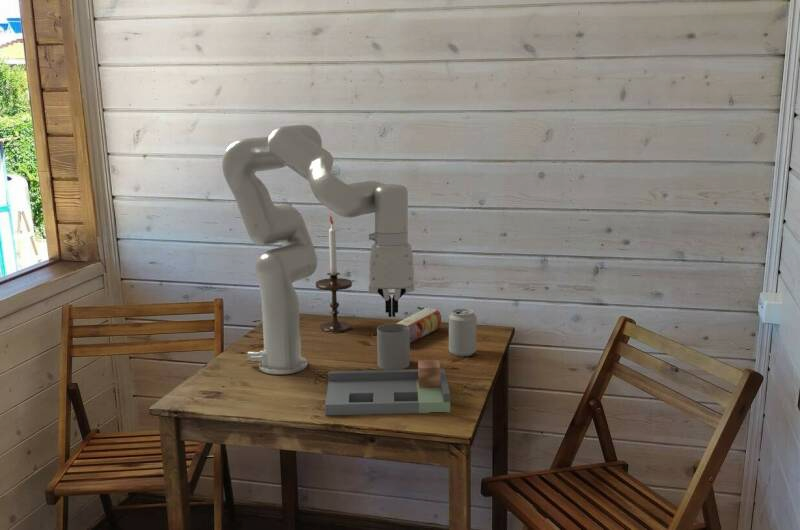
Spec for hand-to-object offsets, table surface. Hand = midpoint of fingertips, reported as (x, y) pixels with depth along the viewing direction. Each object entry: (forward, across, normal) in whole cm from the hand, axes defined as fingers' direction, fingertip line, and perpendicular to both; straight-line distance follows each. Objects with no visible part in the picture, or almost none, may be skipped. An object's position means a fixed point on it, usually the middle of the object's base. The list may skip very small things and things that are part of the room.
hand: (391, 315), depth 190 cm
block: (+17, +9, -2) cm, 19 cm away
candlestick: (+20, -17, +52) cm, 58 cm away
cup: (+20, +1, +20) cm, 28 cm away
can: (+19, +20, +28) cm, 39 cm away
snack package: (+20, +7, +42) cm, 47 cm away
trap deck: (+19, -1, -5) cm, 20 cm away
